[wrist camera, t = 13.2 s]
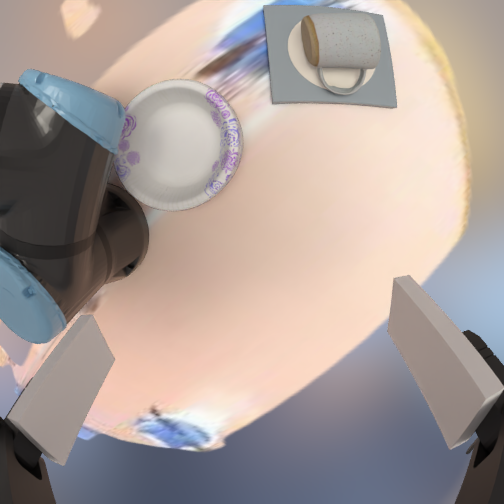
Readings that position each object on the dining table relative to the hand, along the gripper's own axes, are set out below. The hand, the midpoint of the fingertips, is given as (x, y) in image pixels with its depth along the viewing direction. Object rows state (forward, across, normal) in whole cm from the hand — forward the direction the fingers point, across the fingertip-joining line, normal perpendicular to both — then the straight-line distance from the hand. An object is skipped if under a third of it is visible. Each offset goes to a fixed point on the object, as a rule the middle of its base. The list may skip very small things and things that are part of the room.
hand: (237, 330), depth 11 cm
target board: (+28, +14, +19) cm, 37 cm away
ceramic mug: (+27, +14, +18) cm, 35 cm away
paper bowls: (+29, -7, +8) cm, 31 cm away
